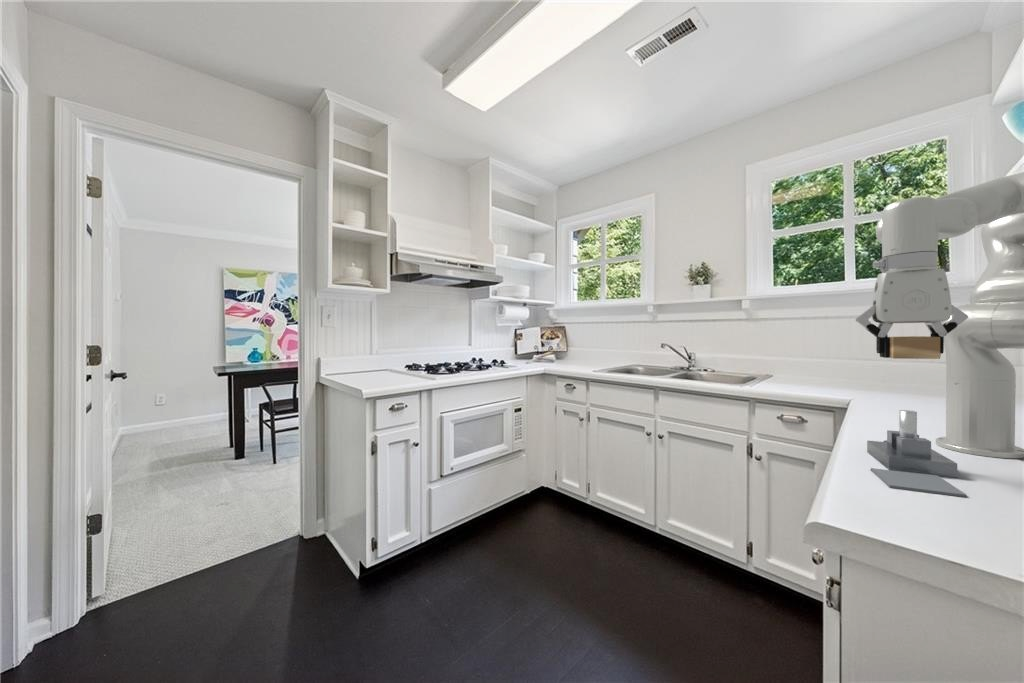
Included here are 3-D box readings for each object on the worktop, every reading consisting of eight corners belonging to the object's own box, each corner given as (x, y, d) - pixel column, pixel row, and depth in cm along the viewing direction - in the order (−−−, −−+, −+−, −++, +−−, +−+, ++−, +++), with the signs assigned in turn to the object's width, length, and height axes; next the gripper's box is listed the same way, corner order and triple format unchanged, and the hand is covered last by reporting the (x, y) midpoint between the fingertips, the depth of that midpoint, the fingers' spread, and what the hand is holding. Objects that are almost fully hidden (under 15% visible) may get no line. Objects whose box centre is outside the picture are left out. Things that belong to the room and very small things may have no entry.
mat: (870, 470, 73) (870, 468, 73) (937, 477, 68) (937, 475, 68) (889, 487, 65) (889, 485, 65) (966, 497, 61) (966, 494, 61)
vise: (859, 445, 88) (859, 400, 87) (914, 450, 83) (914, 403, 83) (889, 470, 73) (889, 415, 72) (957, 477, 68) (957, 419, 68)
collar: (880, 356, 80) (880, 336, 80) (923, 356, 77) (923, 336, 77) (893, 358, 74) (893, 337, 74) (940, 358, 71) (940, 337, 71)
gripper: (856, 266, 76) (857, 358, 76) (985, 256, 68) (985, 359, 68) (845, 271, 82) (845, 355, 83) (961, 263, 74) (961, 356, 75)
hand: (908, 356), depth 75 cm, fingers closed on collar, 6 cm apart
